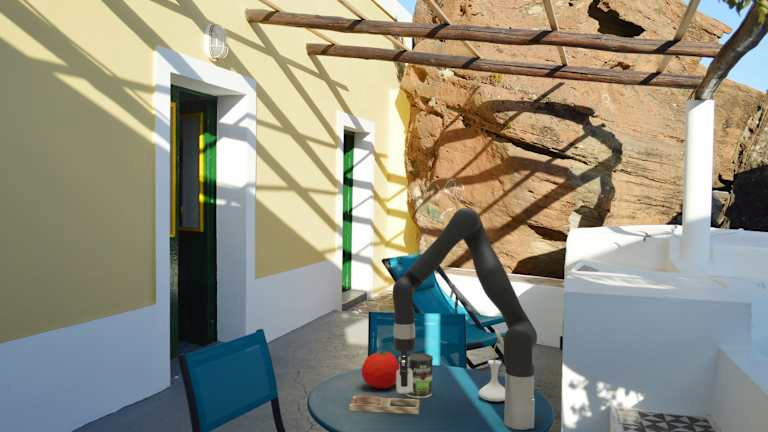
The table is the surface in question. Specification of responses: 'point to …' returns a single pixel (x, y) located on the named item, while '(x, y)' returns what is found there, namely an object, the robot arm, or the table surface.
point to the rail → (384, 405)
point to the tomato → (380, 370)
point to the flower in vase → (494, 379)
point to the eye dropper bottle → (410, 382)
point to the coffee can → (421, 375)
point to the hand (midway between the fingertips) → (404, 383)
